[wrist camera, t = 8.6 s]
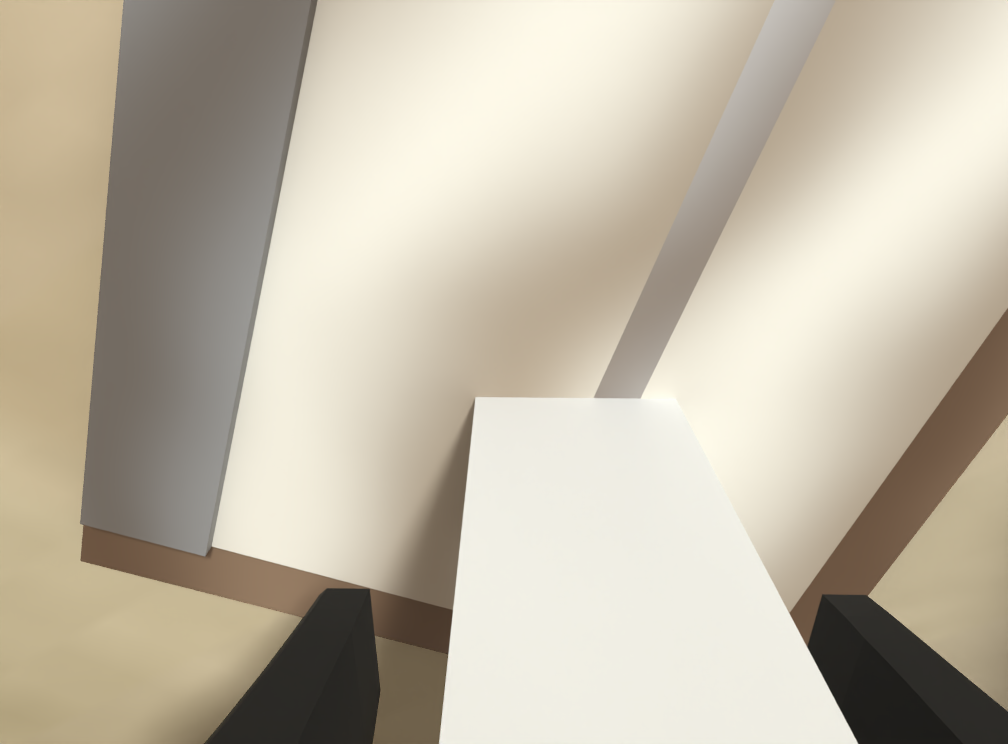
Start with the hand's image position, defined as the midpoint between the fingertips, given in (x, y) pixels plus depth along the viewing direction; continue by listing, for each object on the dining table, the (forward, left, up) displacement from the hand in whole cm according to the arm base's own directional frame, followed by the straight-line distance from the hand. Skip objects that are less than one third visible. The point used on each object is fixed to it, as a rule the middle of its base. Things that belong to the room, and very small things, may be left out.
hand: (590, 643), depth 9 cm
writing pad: (+1, -4, -4) cm, 6 cm away
